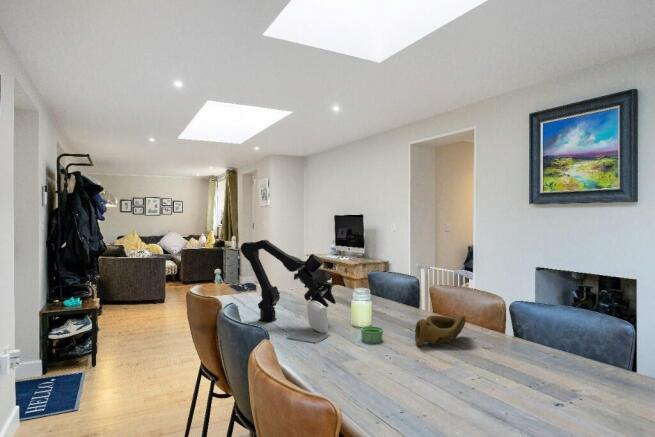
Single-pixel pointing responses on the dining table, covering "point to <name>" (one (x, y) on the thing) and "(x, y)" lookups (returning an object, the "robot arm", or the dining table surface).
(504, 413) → the dining table surface
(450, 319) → the brown looped sculpture
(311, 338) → the mat
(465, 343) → the dining table surface
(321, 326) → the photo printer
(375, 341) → the ramekin
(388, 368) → the dining table surface
